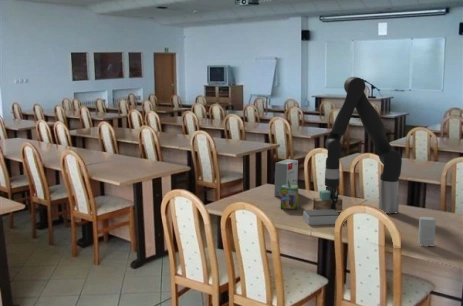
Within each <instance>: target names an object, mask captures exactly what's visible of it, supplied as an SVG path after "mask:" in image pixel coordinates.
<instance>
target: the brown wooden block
mask: <svg viewBox="0 0 463 306" xmlns="http://www.w3.org/2000/svg"><path fill="white" fill-rule="evenodd" d="M312 201H313V205H312V206H313V208H312V210H326V209H331V199H329V200H321V199H320V197H313V200H312ZM334 201H335V199H334ZM335 211H336V212H340V211H341V212H342V211H343V199H342V198H341V197H340V196H338V203H336V210H335Z"/></svg>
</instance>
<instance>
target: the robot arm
mask: <svg viewBox="0 0 463 306" xmlns="http://www.w3.org/2000/svg"><path fill="white" fill-rule="evenodd" d="M343 88H344V91H345V93H346V95H345V99H344V102H343V104H342V105H341V108H339V109H340V110H339V111H338V113H337V115H336V117H335V119H334V121H333V124H332V127H331V129H330V132H329V134H328V136H327V137H326V140H325V143H324V145H325V148H326V150H327V157H326V158H325V170H324V171H325V172H324V185H325V190H327V191H329V192H330V199H331V209H334V210H336V203H338V197H339V192H338V190H337V188H338V187H340V185H341V184H340V183H341V182H340V181H341V171H340V159H341V154H342V143H341V140H342V137H343V136H344V135H345V134H346V131H347V129H348V127H349V123H350V120H351V119H352V115H353V114H354V111H355V110H356V112H357V115H358V117H359V120H360V121H361V124H362V125H363V128H364V130H365V131H366V133H367V135H368V137H369V138H370V140H371V142H372V144H373V146H374V148H375V151H376V153H377V156H378V159H379V161H380V163H381V164H382V165H383V167H382V173H380V177H379V194H378V195H379V196H378V208H379V209H381V210H383V211H384V212H386V213H395V212H398V213H399V209H400V208H399V207H400V206H399V205H400V195H399V181H400V176H401V174H402V164H403V162H402V161H403V160H402V159H403V158H402V155H401V153H400V152H399V151H397V150H394V148H393V147H392V146H391V143H390V141H389V140H388V138H387V135H386V127H385V125H384V122H383V120H382V118H381V116H380V115H379V112H378V111H377V109H376V108H375V107H374V106H373V104H372V103H371V102H370V101H369V98H367V96H366V93H365V90H366V81H364V79H362V77H357V76H350V77H348V78H347V79H345V81H344V84H343ZM334 199H335V201H334Z"/></svg>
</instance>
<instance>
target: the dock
mask: <svg viewBox="0 0 463 306" xmlns="http://www.w3.org/2000/svg"><path fill="white" fill-rule="evenodd" d="M339 215H341V214H340V213H339V212H338V211H335V210H334V209H326V210H313V209H304V210H303V212H302V219H303V220H304V222H305V223H307V225H308V226H314V225H315V226H316V225H336V224H335V221H336V219H337V218H338V216H339Z"/></svg>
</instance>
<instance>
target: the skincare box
mask: <svg viewBox="0 0 463 306" xmlns="http://www.w3.org/2000/svg"><path fill="white" fill-rule="evenodd" d="M418 218H419V221H418V235H417V236H418V238H417V243H418V242H419V244H421V245H434V246H435V240H436V238H435V237H436V224H437V220H436V219H435V217H433V216H430V217H429V216H419V217H418ZM419 244H418V245H419Z"/></svg>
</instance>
